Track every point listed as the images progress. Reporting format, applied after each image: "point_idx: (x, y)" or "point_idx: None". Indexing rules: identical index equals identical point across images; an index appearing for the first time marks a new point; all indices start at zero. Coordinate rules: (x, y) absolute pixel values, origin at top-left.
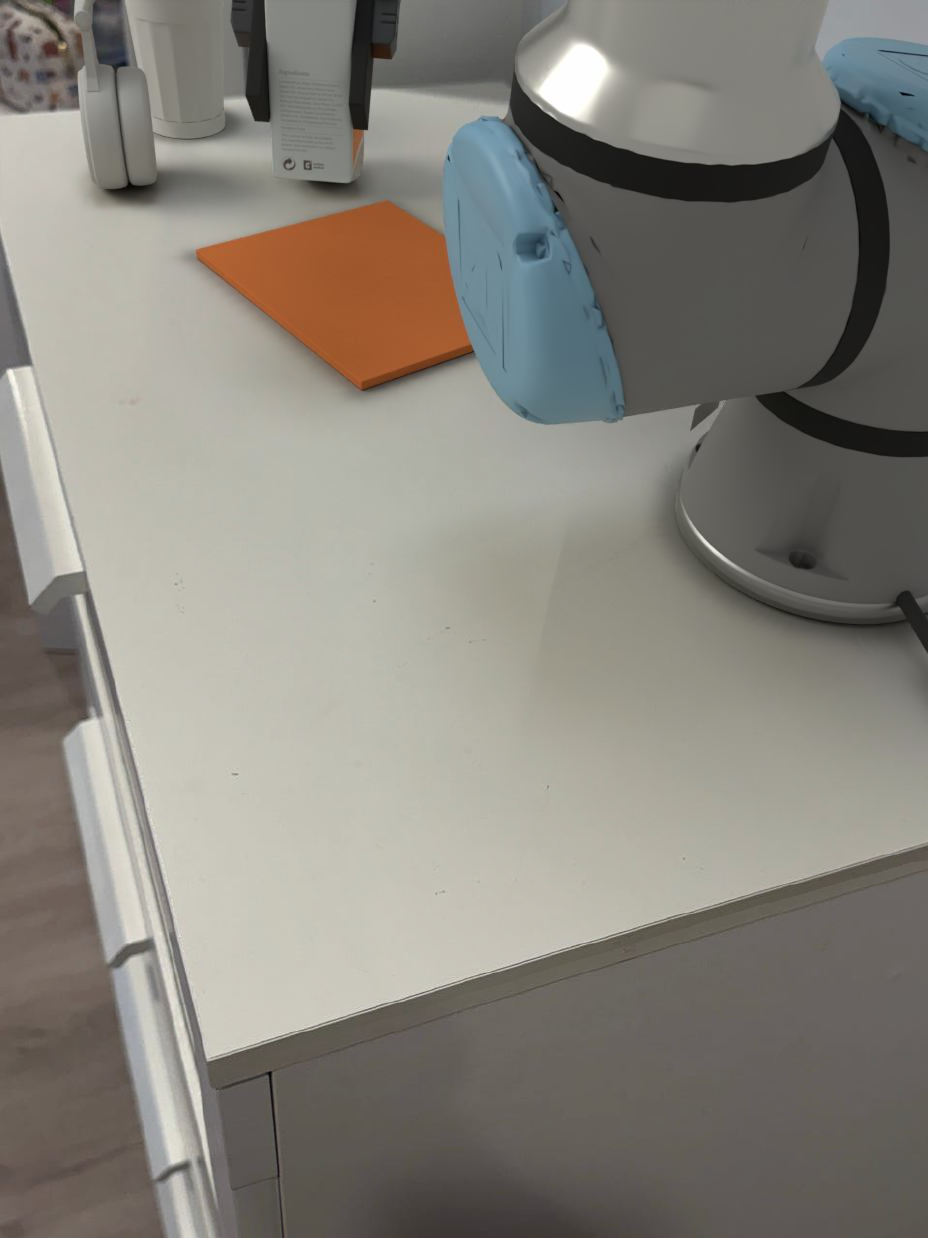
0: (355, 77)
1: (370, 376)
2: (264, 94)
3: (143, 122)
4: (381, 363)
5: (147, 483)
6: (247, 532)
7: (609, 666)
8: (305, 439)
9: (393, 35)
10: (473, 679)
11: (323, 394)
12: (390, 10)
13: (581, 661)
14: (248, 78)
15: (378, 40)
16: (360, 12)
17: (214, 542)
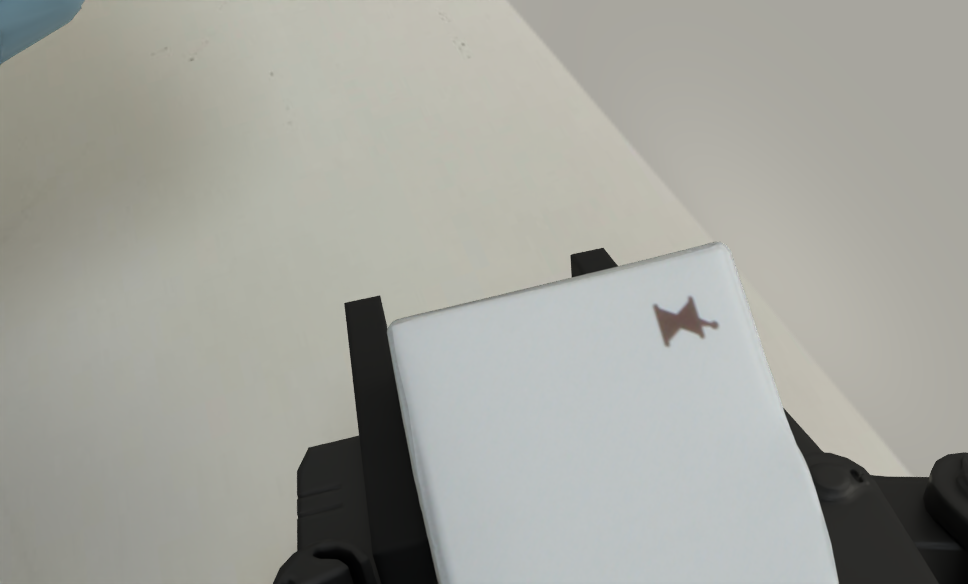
0: (375, 333)
1: None
2: None
3: None
4: None
5: (564, 172)
6: (430, 130)
7: (23, 53)
8: (434, 306)
9: (301, 466)
10: (154, 6)
11: None
12: (319, 522)
13: (52, 52)
14: (613, 266)
15: (342, 444)
16: (394, 443)
17: (455, 107)
